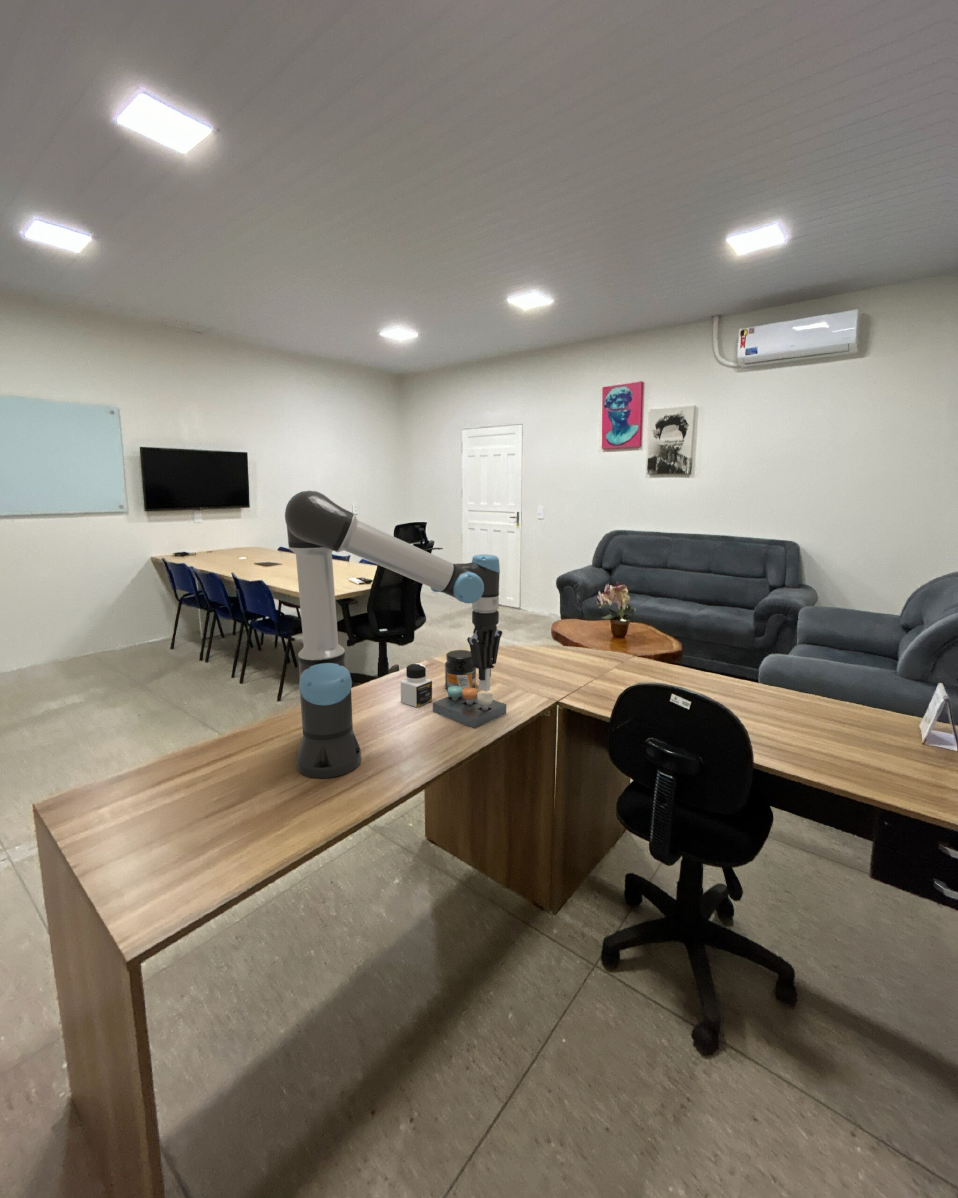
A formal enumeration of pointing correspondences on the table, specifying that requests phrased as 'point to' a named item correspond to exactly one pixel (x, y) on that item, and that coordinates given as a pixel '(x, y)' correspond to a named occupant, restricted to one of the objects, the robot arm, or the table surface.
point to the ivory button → (484, 700)
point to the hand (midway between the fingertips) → (484, 689)
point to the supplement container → (460, 669)
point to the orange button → (469, 695)
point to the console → (468, 711)
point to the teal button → (455, 692)
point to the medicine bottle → (416, 686)
